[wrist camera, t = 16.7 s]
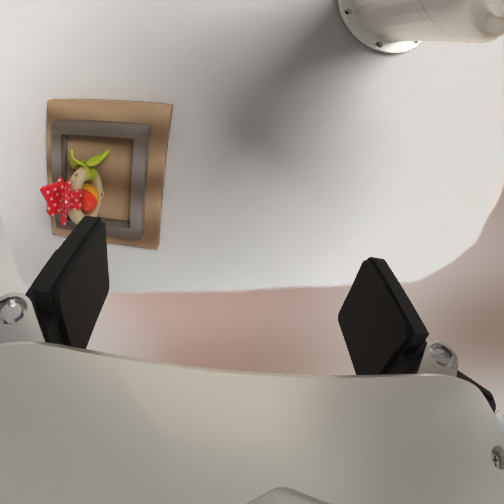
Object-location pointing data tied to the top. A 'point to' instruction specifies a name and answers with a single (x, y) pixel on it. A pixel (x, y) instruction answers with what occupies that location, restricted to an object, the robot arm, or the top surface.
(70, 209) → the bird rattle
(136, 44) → the top surface
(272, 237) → the top surface
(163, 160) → the wooden tray
